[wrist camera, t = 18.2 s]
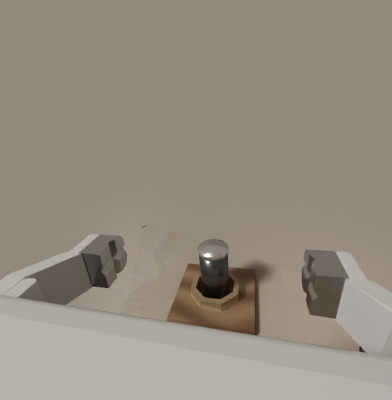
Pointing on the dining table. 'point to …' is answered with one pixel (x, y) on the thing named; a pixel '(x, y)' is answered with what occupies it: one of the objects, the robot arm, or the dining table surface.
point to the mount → (216, 302)
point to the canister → (214, 268)
